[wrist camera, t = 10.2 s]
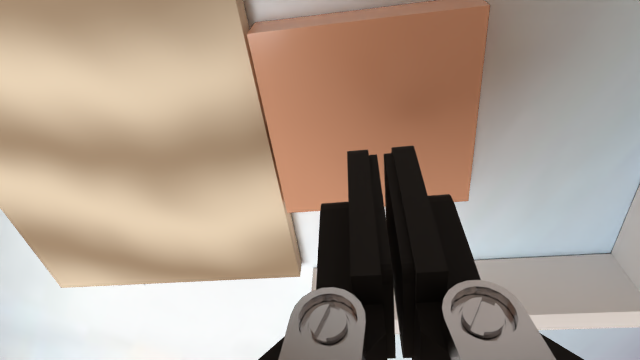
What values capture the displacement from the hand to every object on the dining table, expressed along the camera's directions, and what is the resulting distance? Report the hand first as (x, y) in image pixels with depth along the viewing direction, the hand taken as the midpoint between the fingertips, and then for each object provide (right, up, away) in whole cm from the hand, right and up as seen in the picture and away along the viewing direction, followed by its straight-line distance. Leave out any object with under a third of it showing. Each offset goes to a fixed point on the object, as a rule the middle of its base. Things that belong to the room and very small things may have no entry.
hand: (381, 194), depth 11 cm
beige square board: (-11, +3, +7) cm, 13 cm away
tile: (0, +4, +7) cm, 7 cm away
